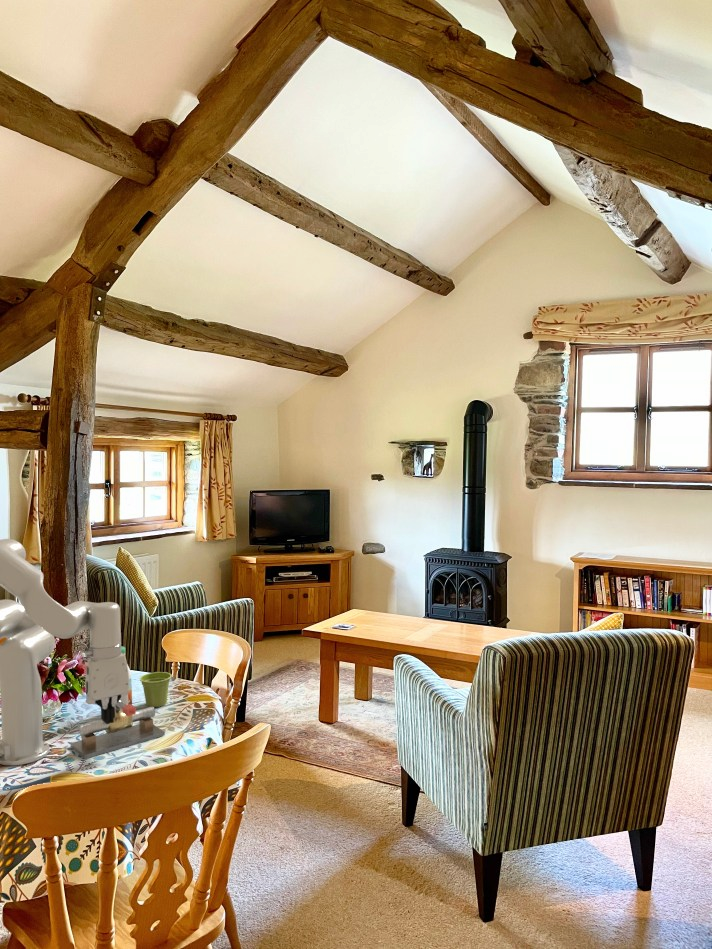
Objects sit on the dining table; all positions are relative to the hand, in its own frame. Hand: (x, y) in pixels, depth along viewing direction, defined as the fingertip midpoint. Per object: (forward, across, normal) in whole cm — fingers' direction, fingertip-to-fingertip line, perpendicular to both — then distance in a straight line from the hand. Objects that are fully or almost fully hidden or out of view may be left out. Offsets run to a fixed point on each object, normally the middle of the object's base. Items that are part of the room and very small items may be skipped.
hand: (108, 721), depth 181 cm
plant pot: (+9, +25, +26) cm, 38 cm away
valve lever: (-1, +6, +3) cm, 6 cm away
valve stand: (+9, +5, +7) cm, 13 cm away
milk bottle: (+9, +13, +26) cm, 31 cm away
